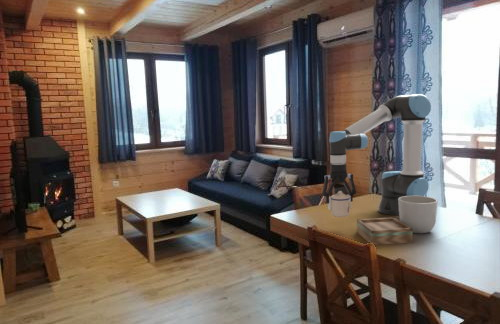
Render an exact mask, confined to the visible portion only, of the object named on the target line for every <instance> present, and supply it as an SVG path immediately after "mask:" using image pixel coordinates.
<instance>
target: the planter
mask: <svg viewBox="0 0 500 324" xmlns="http://www.w3.org/2000/svg"><path fill="white" fill-rule="evenodd" d="M438 202H439V201H438V199H436V198H435V197H431V196H426V195H424V196H402V197H399V198H398V204H399V215H398V216H399V219H398V220H399V221H401V222H402V223H404V224H406V225H407V226H409V227H411V228H412V229H413V230H412V231H413V233H414V234H427V233H429V232H431V231H432V230H433V229H434V227H435V225H436V221H437V220H436V219H437V213H438V212H437V211H438Z"/></svg>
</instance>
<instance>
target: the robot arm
mask: <svg viewBox="0 0 500 324" xmlns="http://www.w3.org/2000/svg"><path fill="white" fill-rule="evenodd" d="M431 110H432V103H431V101H430V99H429V98H428V97H427V96H426V95H425V94H422V93H414V94H404V95H397V96H395V97H393V98H391V99H389V100H387V101H385V102H384V103H382V104H381V105H379V106H378V107H377V109H376V110H374V111H372V112H371V113H369V114H367V115H366V116H364V117H363V118H361V119H360V120H357V122H354V123H352V124H351V125H349V126H348V127H346V128H345V129H343V130H339V131H336V130H335V131H331V132H330V133H329V140H328V141H329V157H330V158H329V160H330V161H329V162H330V172H329V173H330V174H328V175H326V174H325V175H324V176H323V177H324V182H323V186H322V190H321V195H322V196H323V197H325V203H326V204H327V209H328V210H329V211H331V193H332V192H333V189H334V188H335V187H334V186H335V185H336V184H338V183H342V184H343V186H344V188H345V189H346V192H347V193H348V194H347V195H348V196H349V197H350V199H349V207H350V210H351V209H352V202H354V201H353V196H354V195H356V194H357V190H356V186H355V182H354V174H352V173H347V151H353V150H362V149H366V148H367V147H368V144H369V138H368V135H366V134H367V133H369V132H370V131H371V130H374V129H375V128H376V127H378V126H380V125H382V123H385V122H389V121H392V120H394V119H397V118H400V122H401V123H402V124H403V153H402V154H403V156H402V157H403V159H402V169H401V170H396V171H395V170H393V171H385V172H382V174H381V198H380V202H379V205H378V208H377V209H378V210H377V211H378V212H379V213H381V214H385V215H390V216H392V215H393V216H399V204H398V198H399V197H402V196H426V194H427V193H428V191H429V188H430V187H429V181H428V180H427V179H426V178H425V173H424V172H423V171H422V167H421V166H422V138H423V137H422V136H423V134H422V132H423V123H425V121H426V117H427V116H429V115H430V113H431ZM330 178H331V181H330V184H329V180H330ZM347 178H348V180H349V181H348V182H349V184H350V186H349V184H348V182H347V180H346V179H347ZM328 185H329V186H328Z"/></svg>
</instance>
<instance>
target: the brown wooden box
mask: <svg viewBox="0 0 500 324" xmlns="http://www.w3.org/2000/svg"><path fill="white" fill-rule="evenodd" d="M412 230H413V229H412V228H411V227H409V226H407V225H406V224H404V223H402V222H401V221H400V219H398V218H396V217H379V218H378V217H377V218H362V219H360V218H358V219H356V232H357V233H358V235H360V236H361V237H362V238H363V239H364V240H365V241H366V242H367V243H369V242H370V243H373V244H375V245H376V246H377V245H392V244H395V245H396V244H405V243H406V244H407V243H413V231H412ZM370 243H369V244H370ZM375 245H374V246H375Z"/></svg>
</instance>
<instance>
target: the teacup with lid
mask: <svg viewBox="0 0 500 324" xmlns="http://www.w3.org/2000/svg"><path fill="white" fill-rule="evenodd" d="M348 195H349V194H346V193H344V192H343V191H342V190H339V191H337V193H335V194H333V195H330V197H331V210H330V211H331V213H330V214H331V216H333V217H337V218H346V217H349V216H350V214H351V213H350V210H351V209H350V207H349V199H350V197H349V196H348Z"/></svg>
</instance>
